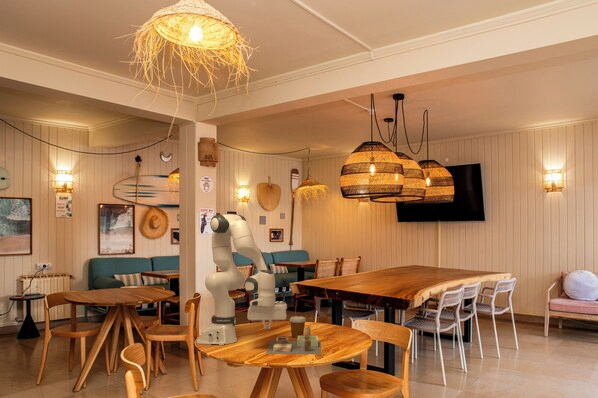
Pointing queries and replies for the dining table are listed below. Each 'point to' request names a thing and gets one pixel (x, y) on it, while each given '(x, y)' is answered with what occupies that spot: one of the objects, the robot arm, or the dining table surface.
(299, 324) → the disposable coffee cup
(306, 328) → the oak dowel
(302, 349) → the bench mat
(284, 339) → the dowel socket
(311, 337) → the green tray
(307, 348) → the bench dog
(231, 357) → the dining table surface
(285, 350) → the beech plate
